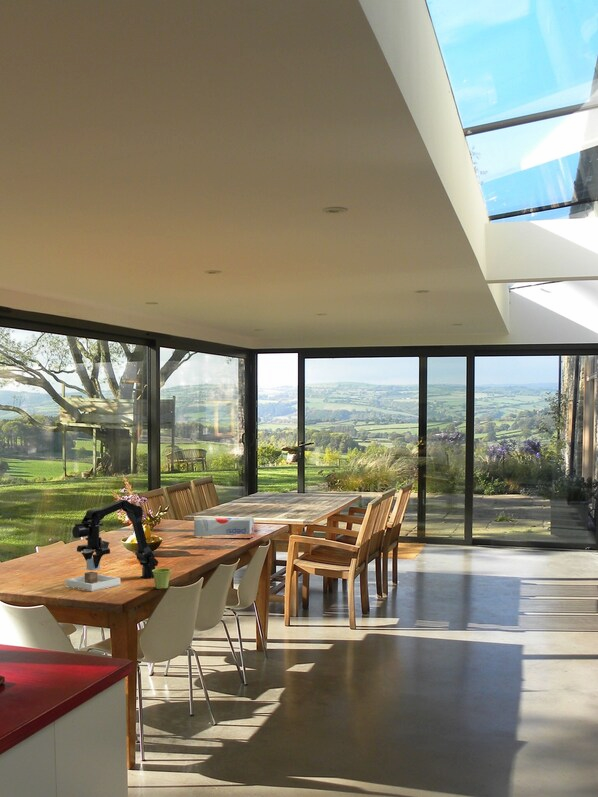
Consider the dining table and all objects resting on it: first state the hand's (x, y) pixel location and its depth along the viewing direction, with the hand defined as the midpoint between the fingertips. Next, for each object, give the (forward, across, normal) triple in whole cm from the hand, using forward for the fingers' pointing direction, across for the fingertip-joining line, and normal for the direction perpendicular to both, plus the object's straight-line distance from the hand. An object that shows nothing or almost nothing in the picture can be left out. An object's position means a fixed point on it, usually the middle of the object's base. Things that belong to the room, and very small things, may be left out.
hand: (93, 567), depth 383 cm
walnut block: (+10, +9, -6) cm, 14 cm away
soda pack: (+11, +56, -160) cm, 170 cm away
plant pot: (+11, -26, -21) cm, 35 cm away
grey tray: (+10, +5, -4) cm, 12 cm away
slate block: (+1, 0, 0) cm, 1 cm away
